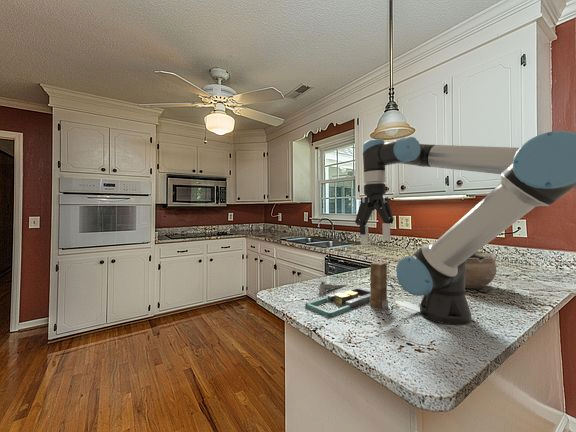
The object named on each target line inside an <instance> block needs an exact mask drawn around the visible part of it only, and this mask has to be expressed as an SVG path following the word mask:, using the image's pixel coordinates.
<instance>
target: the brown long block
mask: <svg viewBox="0 0 576 432" xmlns="http://www.w3.org/2000/svg"><path fill="white" fill-rule="evenodd" d="M387 265H388V264H387V263H386V262H383V261H373V262H370V291H371V297H370V302H369V305H370V307H372V308H376V309H378V310H386V309H388V308H389V300H388V298H387V297H388V293H387V291H388V290H387V289H388V284H387V283H388V282H387V281H388V279H387V277H388V276H387V274H388V273H387V272H388V271H387V270H388V268H387V267H388V266H387Z"/></svg>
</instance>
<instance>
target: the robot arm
mask: <svg viewBox="0 0 576 432" xmlns="http://www.w3.org/2000/svg"><path fill="white" fill-rule="evenodd" d="M362 161H363V162H362V163H363V183H364V185H363V194H364V196H361V197H360V203H359V207H358V211H357V215H356V218H355V222H354V223H355V224H356V225H357V226H359V234H360V245H369V225H367V224H368V221H369V219H370V217H371V215H372V213H373V211H377V212H378V215H379V216H380V218H381V220H382V222H383V223H382V241H383V242H384V241H386V242H390V241H391V224H393V223H394V220H395V219H394V216H393V212H392V209H391V207H390V206H391V205H390V203H389V196H384V195H386V193H387V192H386V190H387V189H386V188H387V187H386V185H387V184H385V183H386V178H387V177H386V166H389V165H396V164H402V165H410V166H411V165H412V166H417V167H429V168H437V169H438V168H439V169H449V170H455V171H464V172H466V171H467V172H473V173H474V172H476V173H484V174H495V175H500V179H501V181H500V183H499V184H497V186H496V187H494V189H492V191H490V192H489V193H488V194H486V196H485V197H484V198H483V199H481V200H480V201H479V202H478V203H477V204H476V205H475V206H473V207H472V208H471V209H470V210H469V211H468V212H467V213H466V214H465V215H464V216H463V217H461V218H460V219H459V220H458V221H457V222H455V224H453V225H452V226H451V227H450V228H449V229H448V230H447V231H445V233H443V234H442V235H441V236H440V237H439V238H438V239H437V240H435V241H434V243H426V244H423V245H422V246H421V247H419V249H418V250H417V251H415V252H414V253H412V255H411V256H405V257H404V258H402V259H400V260H399V261H398V263H397V265H396V268H395V273H396V279H397V282H398V284H399V285H400V287H401V288H402V289H403V290H404V291H405V292H407V293H408V294H410V295H412V296H415V297H421V296H422V299H421V302H420V304H419V313H420V315H421V316H423V317H424V318H425V319H427V320H430V321H433V322H436V323H440V324H446V325H453V326H454V325H455V326H461V325H462V326H463V325H467V324H470V323H471V322H472V312H471V309H470V307H469V306H470V305H469V303H468V301H467V300H468V299H467V297H466V288H465V264H466V260H467V259H468V258H469V257H471V256H472V255H473V254H474V253H476V252H479V251H480V250H481V249H483V248H484V247H485V246H486V245H488V243H490V242H491V241H493V240H494V239H495V238H497V236H500V234H501V233H503V232H505V231H506V230H507V229H508V228H510V227H511V226H512V225H514V224H515V223H516V222H518V221H519V220H521V218H523V217H524V216H525V215H527V214H528V213H529V212H531V211H532V210H533V209H535V208H536V207H550V206H551V205H553V203H555V202H556V201H558V200H560V199H561V198H562V197H563V196H565V195H566V194H567V193H568V192H570V191H572V190H575V189H576V131H575V132H574V131H567V130H555V131H554V130H553V131H548V132H543V133H540V134H538V135H535V136H533V137H532V138H530V139H528V140H527V141H525V142H524V143H523V144H522V145H521V146H519V147H516V146H515V147H510V146H482V145H481V146H480V145H479V146H478V145H456V144H455V145H452V144H451V145H448V144H447V145H446V144H429V143H428V144H423V143H420V141H419V140H417V138H416V137H414V136H409V137H402V138H399V139H396V140H392V141H389V142H385V140H383V139H381V138H375V139H368V140H366V141H364V143H363V146H362Z"/></svg>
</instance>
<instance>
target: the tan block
mask: <svg viewBox="0 0 576 432" xmlns="http://www.w3.org/2000/svg"><path fill="white" fill-rule="evenodd" d="M349 300H350V295H347V294H345V293H339V294H335V303H337V304H336V305H338V304H340V305H339V306H341V305H346V301H349ZM335 303H334V304H335Z"/></svg>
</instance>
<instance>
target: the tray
mask: <svg viewBox="0 0 576 432" xmlns="http://www.w3.org/2000/svg"><path fill="white" fill-rule="evenodd" d="M327 300H328V299H327V296H326V297H325V296H324V297H321V298H318V299H315V300H312V301H309V302H306V303H305V308H306V309H309V310H310V311H314V312H316V313H318V314H321V315H323V316H324V317H327V318H333V317H334V316H338V315H340V314H342V313H346V312H348V311H350V310H351V309H350V306H349V305H347V306H344V307H343V306H341V307H339V308H336V309H333V310H331V311H328V310H326V309H324V308H321V307H318V306H317V305H320V304H323V303H327V302H328V301H327Z"/></svg>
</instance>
